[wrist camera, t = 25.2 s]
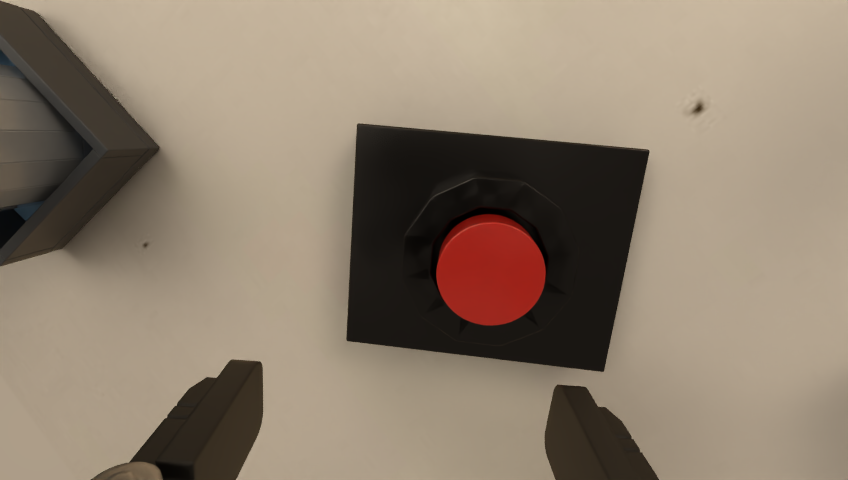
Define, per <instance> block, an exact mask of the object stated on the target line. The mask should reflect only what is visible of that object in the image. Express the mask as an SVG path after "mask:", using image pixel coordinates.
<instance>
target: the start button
mask: <svg viewBox="0 0 848 480" xmlns="http://www.w3.org/2000/svg"><path fill="white" fill-rule="evenodd" d="M545 277H546V269H545V263H544V259H543V256H542V253H541V251H540V250H539V248H538V246H537V245H536V243H535V242H534V240H533V239H532V237H531V236H530V235H529V233H528V232H527V231H526V230H525V229H524V228H523V227H522V226H521V225H520V224H519V223H517V222H515V221H514V220H512V219H510V218H507V217H504V216H501V215H495V214H482V215H477V216H473V217H470V218H468V219H466V220H464V221H462V222H460V223H459V224H458V225H456V226H455V227H454V228H453V229H452V230H451V231H450V232H449V233H448V235H447V236H446V238H445V239H444V241H443V244H442V246H441V249H440V253H439V258H438V264H437V270H436V278H437V285H438V289H439V291H440V294H441V296H442V298H443V300H444V301H445V303H446V304H447V305H448V307H449V308H450V309H451V310H452V311H453V312H455V313H456V314H457V315H458V316H460V317H462V318H463V319H465V320H467V321H470V322H472V323H476V324H480V325H490V326H492V325H501V324H506V323H509V322H512V321H514V320H516V319H518V318H520V317H521V316H523V315H524V314H526V313H527V312H528V311H529V310H530V309H531V308H532V307H533V306H534V305H535V303H536V302H537V301H538V299H539V297H540V295H541V293H542V291H543V288H544V284H545Z"/></svg>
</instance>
